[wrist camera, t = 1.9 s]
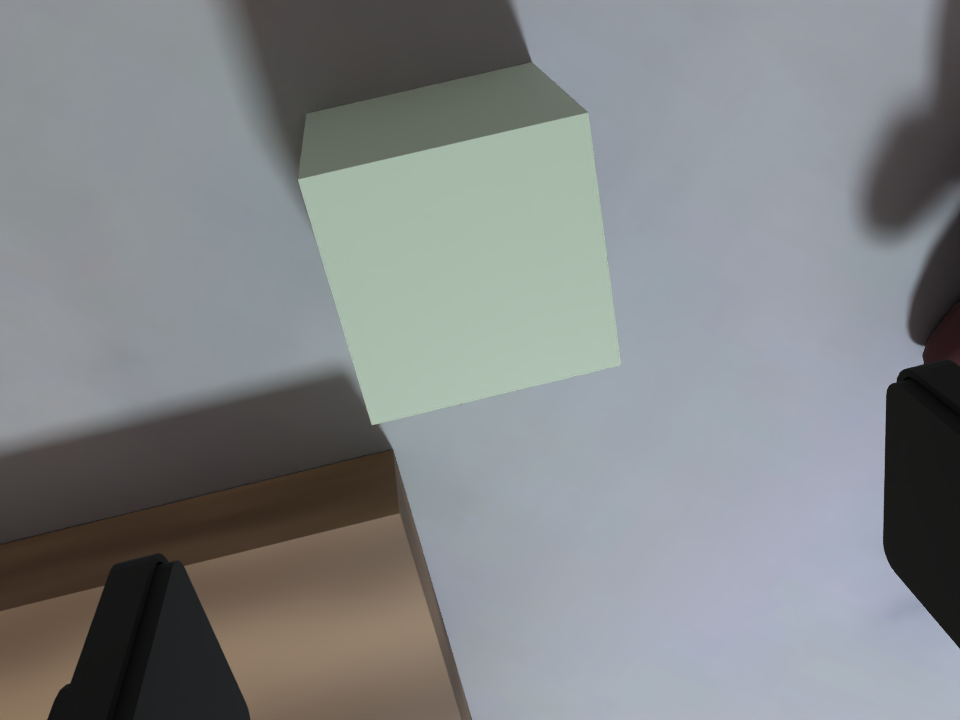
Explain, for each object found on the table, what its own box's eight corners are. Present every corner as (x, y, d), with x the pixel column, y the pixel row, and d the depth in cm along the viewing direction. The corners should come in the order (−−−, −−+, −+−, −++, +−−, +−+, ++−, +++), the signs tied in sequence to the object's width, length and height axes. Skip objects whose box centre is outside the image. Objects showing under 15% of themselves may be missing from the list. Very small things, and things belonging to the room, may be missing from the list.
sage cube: (306, 112, 21) (297, 179, 16) (530, 61, 21) (587, 112, 16) (364, 316, 24) (371, 425, 19) (563, 269, 24) (621, 365, 19)
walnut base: (-89, 566, 25) (-138, 644, 23) (393, 449, 26) (399, 513, 23) (105, 854, 32) (84, 941, 29) (483, 757, 32) (496, 834, 30)
